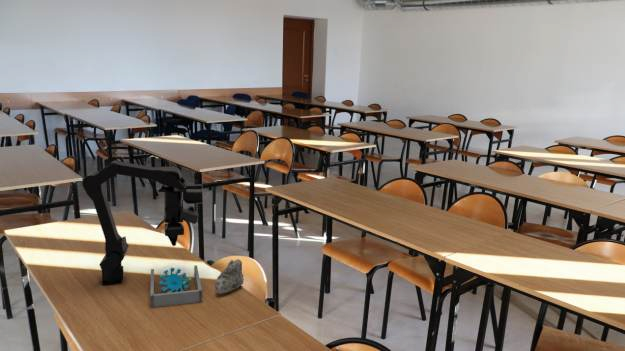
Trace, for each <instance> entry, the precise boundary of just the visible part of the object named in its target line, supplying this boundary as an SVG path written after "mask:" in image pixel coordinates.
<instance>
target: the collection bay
mask: <svg viewBox="0 0 625 351" xmlns="http://www.w3.org/2000/svg"><path fill="white" fill-rule="evenodd" d="M193 267H194V268H193V274H194V275H193V276H194V281H195V288H196V290H195V289H194V290H184V291H182V292H180V291H178V292H176V291H172V292H171V293H167V292H162V293H155V269H154V268H151V269H150V291H149V292H150V296H149V297H150V308H158V307H168V306H170V307H171V306H178V305H188V304H195V303H203V289H202V283H201V279H200V274H199V269H198V265H197V264H196V265H194V266H193Z"/></svg>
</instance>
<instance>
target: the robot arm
mask: <svg viewBox="0 0 625 351" xmlns="http://www.w3.org/2000/svg"><path fill="white" fill-rule="evenodd" d="M115 175H120V176H126V177H132V178H139V179H144V180H145V179H146V180H151V181H154V182H157V183H159V184H161V186H160V187H159V189H158V190H157V192H158V193H163V195H164V196H163V198H164V202H163V203H164V205H163V206H164V213H163V221H164V236H166V237H167V238H168V239H169V241H170V244H171V245H172V246H174V247H175V246H177V242H178V237H179V236H184V235H185V227H184V225H183V223H184V222H187V223H191V224H193V225H195V224H197V222H198V219H199V212H198V211H197V210H195V206H191V205H192V204H193V205H195V204H198V205H199V204H201V205H202V204H204V191H203V190H204V189H203V184H201V183H197V184H188V182H187V180H186V179H185V177H183V176H182V175H183V174H182V171H181V170H180V168H178V167H176V166H160V167H157V166H156V167H154V166H148V165H142V164H136V163H132V162H131V163H130V162H123V161H121V160H120V161H119V160H113V161H111V162H110V163H109V164H108V165H106V166H105V167H103V168H101V169H100V170H97V171H96V170H94V171H92V172H90V173H88V174H87V175H86V176H85V177H84V179H83V180H82V182H81V185H82V188H83V190H84V191H85V193H86V194H87V196H88V198H89V199H90V200H91V201H92V202H93V205H94V209H95V212H96V215H97V218H98V222H99V224H100V227H101V230H102V233H103V237H104V241H105V244H104V250H105V254H104V256H103V257H102V259H101V261H100V263H99V267H100V269H101V279H102V280H101V285H102V286H106V285H107V286H108V285H117V284H122V283H123V280H124V278H125V271H124V269H125V268H124V265H122V262H123V260H124V259H125V256H126V254H127V253H128V249H129V247H130V246H129V244H128V243H127V237H126V236H123V237H122V236H121V235H120V234H119V232H118V229H117V226H116V222H115V219H114V215H113V213H112V210H111V205H110V202H109V201H108V196H107V195H108V194H107V188H108V187H107V186H108V185H107V181H108V180H110V179H111V178H112V177H114V176H115ZM183 202H184V203H186V205H189V206H188V207H187V208H183V204H182V203H183ZM190 204H191V205H190Z"/></svg>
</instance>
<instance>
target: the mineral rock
mask: <svg viewBox="0 0 625 351" xmlns="http://www.w3.org/2000/svg"><path fill="white" fill-rule="evenodd" d="M242 270H243V262H242V260H241V259H239V258H237V259H235V260H233V259H231V260H230V261H229V262H228V263H227V266H226V268H225V269H224V270H223V271H221V273H220V274H219V275H218V276H217V278H216V280H215V282H214V287H215V292H216V293H217V294H226V293H230V292H232V291H234V290H236V289H238V288H240V287H241V286H242V285H243V284H244V274H243V271H242Z"/></svg>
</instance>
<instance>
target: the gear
mask: <svg viewBox="0 0 625 351" xmlns="http://www.w3.org/2000/svg"><path fill="white" fill-rule="evenodd" d="M169 271H170V274H168V273H169ZM174 271H175V267H171V268H169V270H168V269H165V270H164V271H163V273H164V274H161V275H160V276H159V279H160V281H158V285H159V286H162V287H161V291H162V293H165V291H166V290H169V291H167V292H166V293H172V292H182V291H187V289H188V288H189V285H188V284H189V283H190V282H191V281H192V277H188V278H186V276H187V274H186V272H183V273H182V274H180V273H181V272H182V269H180V268H178V269H177V270H176V272H174ZM173 272H174V273H173ZM178 290H180V291H178Z"/></svg>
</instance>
